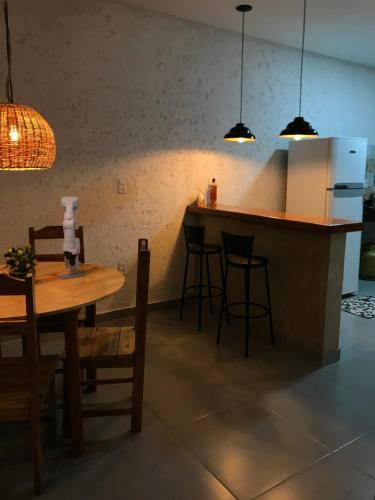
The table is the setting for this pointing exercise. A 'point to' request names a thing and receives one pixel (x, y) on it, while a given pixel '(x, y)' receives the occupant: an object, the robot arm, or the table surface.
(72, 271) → the terracotta brick
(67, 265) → the walnut brick
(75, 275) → the baseplate
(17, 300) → the table surface
